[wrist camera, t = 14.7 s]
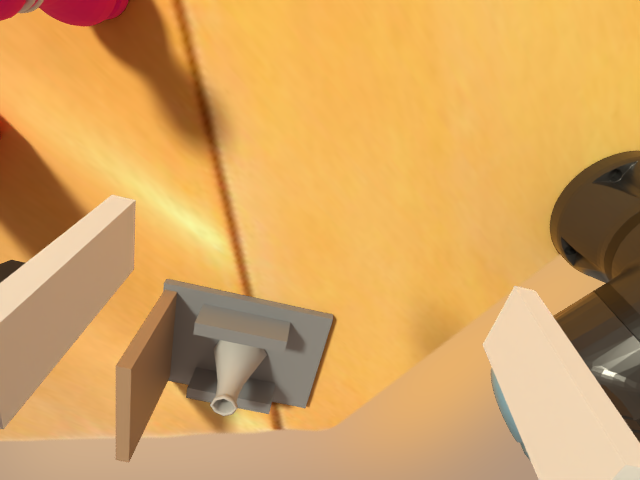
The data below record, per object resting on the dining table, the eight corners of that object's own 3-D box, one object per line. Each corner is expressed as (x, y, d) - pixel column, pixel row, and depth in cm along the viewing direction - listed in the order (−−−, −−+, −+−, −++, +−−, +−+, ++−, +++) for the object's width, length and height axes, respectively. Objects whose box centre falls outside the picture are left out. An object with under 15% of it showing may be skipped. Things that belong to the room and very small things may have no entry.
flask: (276, 354, 62) (264, 411, 53) (240, 376, 64) (223, 434, 55) (241, 322, 59) (223, 377, 50) (205, 346, 61) (182, 402, 53)
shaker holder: (333, 314, 59) (330, 402, 46) (305, 402, 67) (296, 498, 54) (166, 278, 57) (113, 358, 44) (160, 373, 66) (114, 464, 53)
